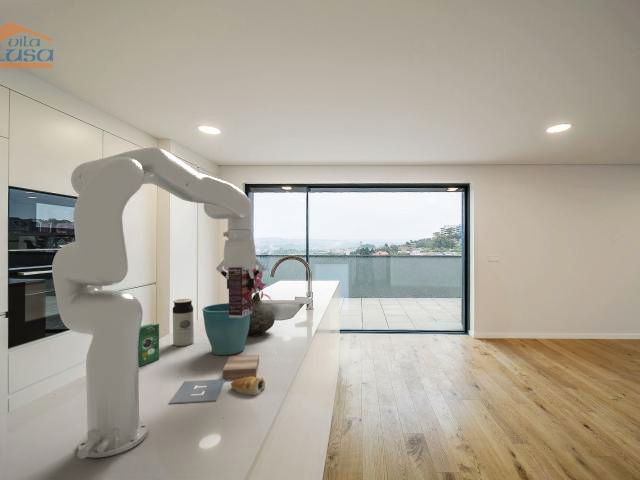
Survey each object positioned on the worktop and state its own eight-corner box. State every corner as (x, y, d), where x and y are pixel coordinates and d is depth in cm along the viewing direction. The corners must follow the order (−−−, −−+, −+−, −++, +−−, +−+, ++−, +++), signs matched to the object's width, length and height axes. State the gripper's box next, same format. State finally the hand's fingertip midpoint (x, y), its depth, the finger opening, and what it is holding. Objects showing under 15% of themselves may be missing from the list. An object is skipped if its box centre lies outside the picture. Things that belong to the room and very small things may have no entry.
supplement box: (242, 318, 110) (241, 267, 110) (228, 318, 111) (227, 267, 111) (253, 312, 118) (252, 265, 118) (239, 312, 119) (238, 265, 119)
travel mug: (174, 341, 148) (173, 299, 148) (194, 339, 151) (193, 297, 151) (172, 347, 141) (171, 302, 141) (193, 345, 143) (192, 300, 143)
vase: (230, 337, 153) (228, 268, 153) (249, 327, 170) (248, 265, 170) (265, 339, 149) (263, 268, 149) (281, 329, 165) (280, 265, 165)
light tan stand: (256, 376, 108) (255, 368, 108) (222, 378, 107) (222, 370, 107) (259, 362, 121) (259, 354, 121) (229, 363, 120) (229, 356, 120)
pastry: (226, 393, 97) (225, 379, 97) (238, 383, 104) (238, 371, 104) (256, 397, 95) (256, 383, 95) (267, 387, 101) (267, 374, 101)
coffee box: (154, 358, 127) (153, 322, 127) (160, 359, 126) (159, 322, 126) (134, 365, 120) (134, 327, 120) (140, 366, 119) (140, 328, 119)
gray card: (216, 401, 92) (216, 399, 92) (168, 403, 91) (168, 402, 91) (225, 380, 106) (225, 379, 106) (184, 382, 105) (184, 381, 105)
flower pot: (193, 357, 128) (192, 310, 128) (218, 342, 145) (217, 301, 145) (238, 360, 124) (237, 312, 124) (259, 345, 141) (258, 303, 141)
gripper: (210, 235, 110) (211, 293, 110) (265, 234, 112) (266, 291, 112) (215, 236, 117) (216, 290, 117) (267, 235, 119) (268, 288, 119)
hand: (240, 290), depth 114 cm, fingers closed on supplement box, 5 cm apart
